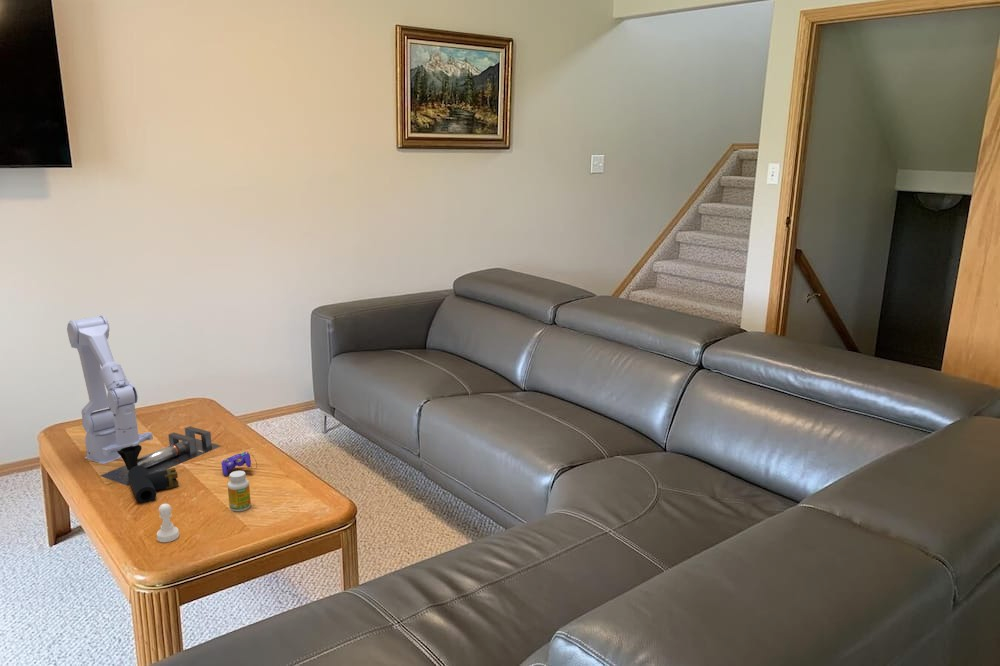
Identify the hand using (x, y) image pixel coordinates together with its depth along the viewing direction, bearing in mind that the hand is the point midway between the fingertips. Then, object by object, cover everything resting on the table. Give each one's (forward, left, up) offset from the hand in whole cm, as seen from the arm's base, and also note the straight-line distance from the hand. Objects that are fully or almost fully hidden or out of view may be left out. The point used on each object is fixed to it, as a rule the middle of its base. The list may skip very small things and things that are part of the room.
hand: (131, 469), depth 218 cm
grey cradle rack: (0, +10, -2) cm, 10 cm away
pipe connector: (+15, -3, -2) cm, 15 cm away
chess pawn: (+40, -18, -2) cm, 44 cm away
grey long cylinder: (0, +10, -1) cm, 10 cm away
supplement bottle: (+43, +2, -2) cm, 43 cm away
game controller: (+25, +17, -2) cm, 30 cm away
